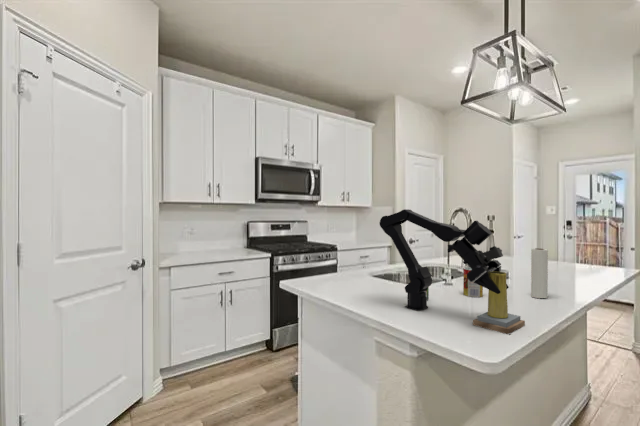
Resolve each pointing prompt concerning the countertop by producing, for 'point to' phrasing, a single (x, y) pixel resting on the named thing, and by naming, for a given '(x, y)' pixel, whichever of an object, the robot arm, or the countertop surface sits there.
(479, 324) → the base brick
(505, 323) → the top brick
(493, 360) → the countertop surface
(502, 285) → the vase
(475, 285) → the canned food
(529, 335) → the countertop surface
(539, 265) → the grey cylinder
